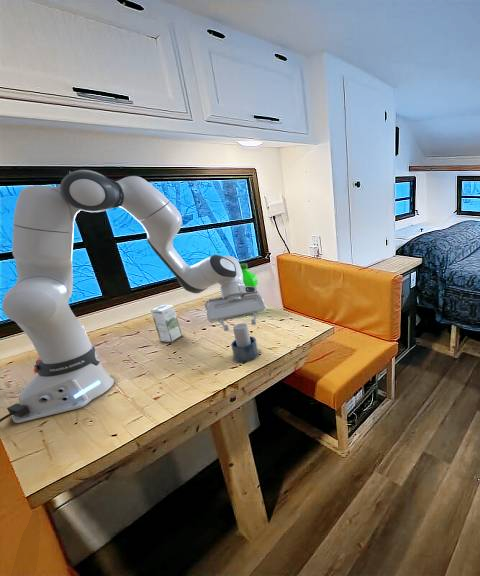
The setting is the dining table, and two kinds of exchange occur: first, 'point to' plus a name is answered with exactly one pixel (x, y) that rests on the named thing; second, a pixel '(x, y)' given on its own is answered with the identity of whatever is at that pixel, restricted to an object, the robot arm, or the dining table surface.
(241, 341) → the beverage can
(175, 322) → the syrup box
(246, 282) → the plastic bottle
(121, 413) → the dining table surface
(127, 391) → the dining table surface
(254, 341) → the can holder
